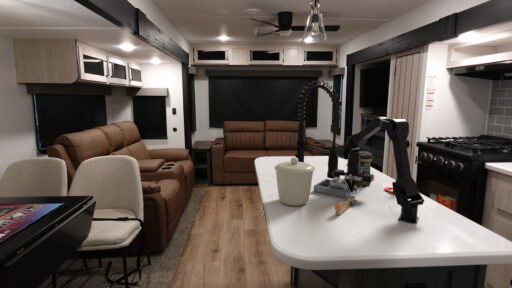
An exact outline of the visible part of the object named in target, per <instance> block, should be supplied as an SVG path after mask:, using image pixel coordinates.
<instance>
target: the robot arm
mask: <svg viewBox="0 0 512 288" xmlns="http://www.w3.org/2000/svg"><path fill="white" fill-rule="evenodd" d="M381 129H382V130H383V131H386V135H387V137H388V138H389V140H390V141H391V143H392V148H393V155H394V163H395V164H394V165H395V170H396V172H397V179H396V178H395V181H392V187H393V189H392V191H393V192H394V194H393V195H394V196H395V199H396V204H397V205H399V206H400V207H401V208H400V215H399V216H398V218H397V220H398V221H401V222H402V221H403V222H407V223H411V224H416V225H417V224H418V222H419V219H420V217H419V216H418V211H419V206H423V205H424V203H425V199H424V198H423V196H422V195H421V193H420V192H419V188H418V185H417V182H416V181H415V179H414V178H413V177H412V174H411V173H412V172H411V167H410V166H411V165H410V158H409V152H408V145H407V140H408V136H409V134H410V124H409V122H408V121H407V120H406V119H404V118H402V119H401V118H398V119H396V118H395V119H394V118H389V117H386V116H377V117H375V118H373V120H372V121H371V122H370V123H368V124H367V125H366V126H365V127H363V128H362V129H361V130H360V131H359V132H357V133H354V134H351V135H349V136H348V137H346V140H345V142H344V143H343V144H340V145H338V146H339V147H337V148H336V151H335V156H336V157H337V158H339V159H343V160H346V161H347V163H346V167H347V168H346V172H345V170H344V169H339V168H337V169H334V170H333V172H332V177H333V178H335V177H339V176H340V177H342V176H343V177H344V178H343V179H344V180H346V182H347V184H348V186H349V188H350V191H349V192H350V193H352V194H353V192H355V191H354V189H355V186H356V187H357V185H356V184H357V183H358V182H359V181H361V180H363V181H364V182H369V183H371V184H372V182H374V181H375V175H374V174H371V173H370V174H367V173H366V174H364V175H360V174H361V173H362V170H363V167H361V166H360V154H364V152H365V151H364V150H362V148H363V146H364V145H365V144H366V143H367V140H368V139H369V138H370V137H372V136H373V135H375V134H376V133H377V132H378V131H379V130H381ZM396 172H395V173H396ZM353 177H354V180H353Z"/></svg>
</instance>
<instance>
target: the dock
mask: <svg viewBox="0 0 512 288" xmlns="http://www.w3.org/2000/svg"><path fill="white" fill-rule="evenodd" d="M331 180H332V179H329V178H325V179H323V180H321V181H320V182H318V183H316V184H314V185H313V193H314V194H315V193H316V194H321V195H326V196H331V197H335V198H340V199H344V200H343V203H344V202H345V201H346V200H347V199H349V198H350V197H347V195H348V193H347V191H344V190H338V189H333V188H330V181H331ZM356 191H357V185H356V186H355V189H354V191H353V192H356ZM357 204H358V199H355V200H354V201H352V205H351V207H355V206H356V205H357Z"/></svg>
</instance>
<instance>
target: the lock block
mask: <svg viewBox="0 0 512 288" xmlns="http://www.w3.org/2000/svg"><path fill="white" fill-rule="evenodd" d="M330 180H331V181H330V186H329V188H333V189H338V190H344V191H347V194H348V193H349V192H351V191H350V188H349V186H348V184H347V182H346V180H344V178H341V175H340V176H339V177H333V178H332V179H330Z"/></svg>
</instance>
